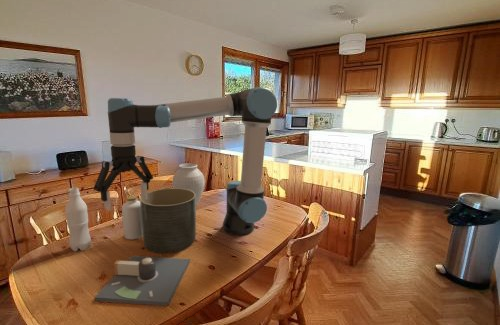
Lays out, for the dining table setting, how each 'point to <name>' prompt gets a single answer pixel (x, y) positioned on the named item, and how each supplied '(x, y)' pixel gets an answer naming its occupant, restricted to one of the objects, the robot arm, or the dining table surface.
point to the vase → (189, 179)
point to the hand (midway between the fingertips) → (127, 203)
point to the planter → (168, 220)
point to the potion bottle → (132, 218)
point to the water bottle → (77, 221)
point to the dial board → (146, 284)
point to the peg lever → (136, 268)
